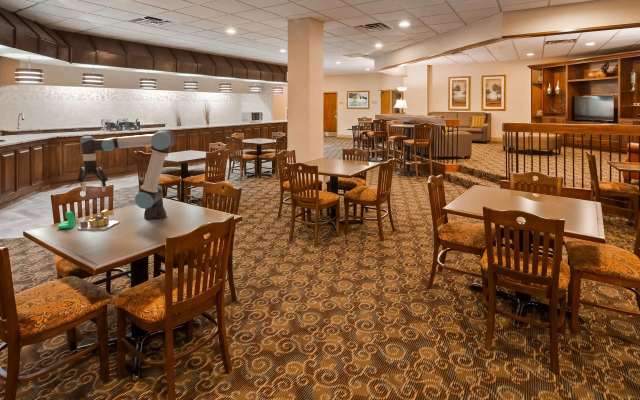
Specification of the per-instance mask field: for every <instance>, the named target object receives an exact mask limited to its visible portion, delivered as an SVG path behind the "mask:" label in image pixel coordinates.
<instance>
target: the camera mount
mask: <svg viewBox="0 0 640 400" xmlns="http://www.w3.org/2000/svg"><path fill="white" fill-rule="evenodd" d="M65 219H67V221H66V220H63V221H62V222H61V223H59V224H58V225H57V229H73V228H74V227H75V225H76V224H77V220H76V216H75V215H74V212H73V211H66V212H65Z"/></svg>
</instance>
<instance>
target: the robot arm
mask: <svg viewBox="0 0 640 400" xmlns="http://www.w3.org/2000/svg"><path fill="white" fill-rule="evenodd" d="M79 141H80V147H81V153H82V155H81V156H82V160H83V162H82V163H83V166H81V167H79V168H80V169H79V170H80V171H79V174H78V176H77V179H76V180H77V182H80V186H81V189H82V192H83V193H85V192H87V191H88V190H87V184H86V179H87V177H88V176H89V175H95V176H96V177H97V179H99V180H100V181H101V182H100V186H101V192H102V193H103V192H106V186H107V184H106V182H107V181H109V179H108V177H107V175H106V174H105V172H104V170H103V168H102V166H99V167H98V162H97V160H96V159H97V155H96V152H110V151H114V150H116V149H126V148H137V147H148V146H149V147H150V146H151V147H150V149H151V152H152V153H151V156H150V160H149V163H148V167H147V170H146V174H145V178H144V180H143V181H144V182H143V184H142V185H140V187H139V190H138V193H137V194H136V195H135V197H134V202H135V204H136V206H137V207H139V208H140V209H144V212H143V219H145V220H161V219H164V218H166V217H167V210H166V209H165V207H164V199H163V198H164V197H163V188H162V185H158V184H159V181H160V178H161V174H162V171H163V167H164V164H165V159H166V156H167V155H169V154H170V151H171V147H173V146H174V145H175V144H176V142H177V137H176V134H175V133H174V132H173V131H171V130H168V129H167V130H158V131H156V132H155V133H153V134H142V135H130V136H129V135H128V136H121V137H120V136H119V137H115V136H114V137H109V138H102V139H101V138H100V139H94V137H93V136H88V135H87V136H82V137H80V140H79Z"/></svg>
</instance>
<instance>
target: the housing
mask: <svg viewBox="0 0 640 400" xmlns="http://www.w3.org/2000/svg"><path fill="white" fill-rule="evenodd" d="M93 217H94V219H96V220H103V216H102V215H101V214H98V215H97V214H96V215H93ZM108 222H109V223H108V224H106V225H102V226H90V225H89V220H82V221H80V226H79V227H77V231H107V230H110V229H111V228H113V227H114V226H116V225H118V224H120V220H108Z"/></svg>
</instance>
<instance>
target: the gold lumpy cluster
mask: <svg viewBox="0 0 640 400" xmlns="http://www.w3.org/2000/svg"><path fill="white" fill-rule="evenodd" d="M100 215H102V216H103V220H96V219H94V216H90V217H89V219H88V223H89V225H90V226H102V225H106V224H108V223H109V222H108V221H110V215H109V210H108V209H104V210H101V211H100Z"/></svg>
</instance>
